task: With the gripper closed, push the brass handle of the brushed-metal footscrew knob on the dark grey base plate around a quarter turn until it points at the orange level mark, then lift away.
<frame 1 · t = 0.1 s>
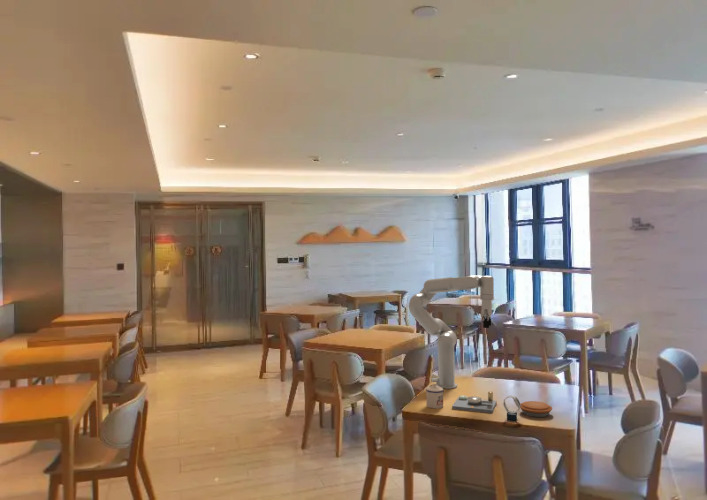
hand: (487, 326, 304), 37 cm above the table, tool pointing down, fingers open, 9 cm apart
base plate: (474, 406, 272), on the table
teacup with lid: (436, 405, 274), on the table
watch: (512, 419, 251), on the table
footscrew knob: (480, 397, 271), point 5 cm above the table, hinge at 0.0°
pie: (535, 414, 259), on the table
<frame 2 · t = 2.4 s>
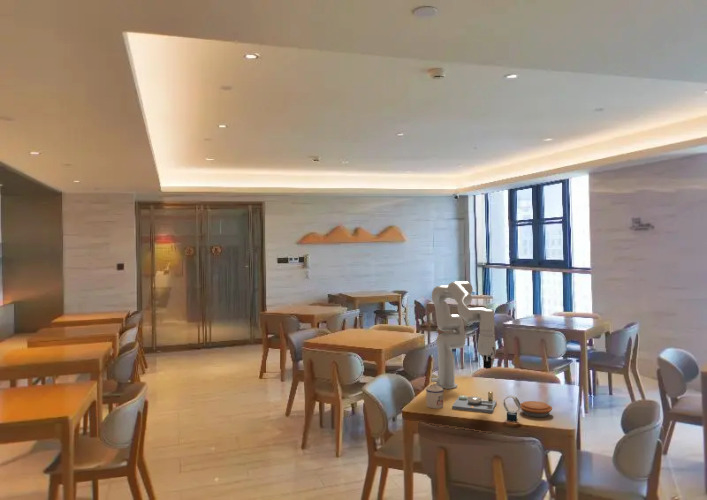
hand: (487, 367, 276), 19 cm above the table, tool pointing down, fingers closed
nothing on the table moved.
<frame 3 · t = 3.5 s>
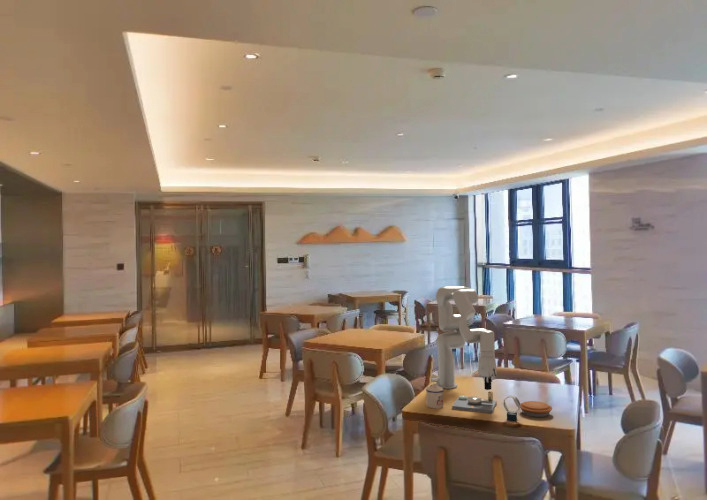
hand: (488, 389, 275), 8 cm above the table, tool pointing down, fingers closed
nothing on the table moved.
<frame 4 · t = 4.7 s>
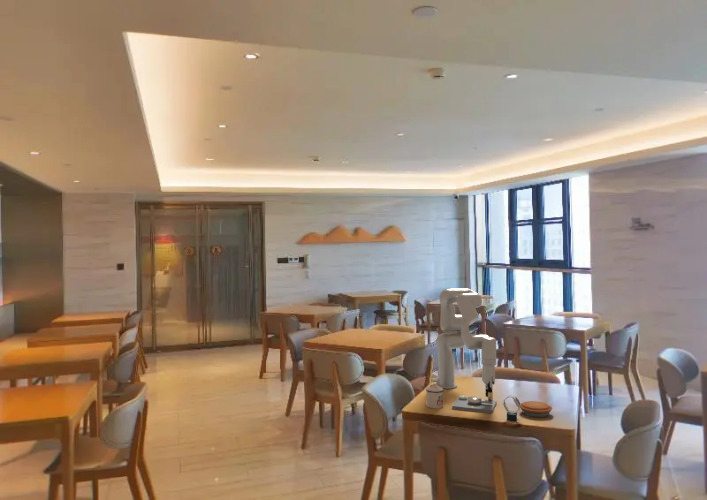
hand: (489, 396, 273), 5 cm above the table, tool pointing down, fingers closed
footscrew knob: (480, 397, 271), point 5 cm above the table, hinge at 2.1°, touching gripper
everything else where it was.
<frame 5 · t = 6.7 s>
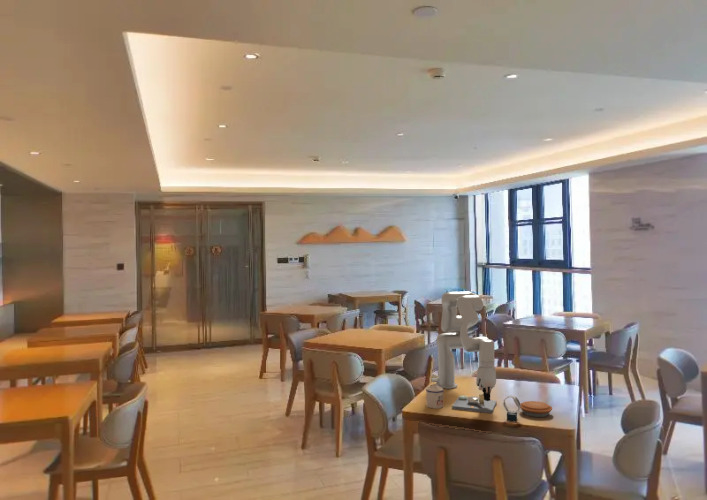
hand: (486, 400, 266), 5 cm above the table, tool pointing down, fingers closed
footscrew knob: (477, 398, 270), point 5 cm above the table, hinge at 55.6°, touching gripper
everything else where it was.
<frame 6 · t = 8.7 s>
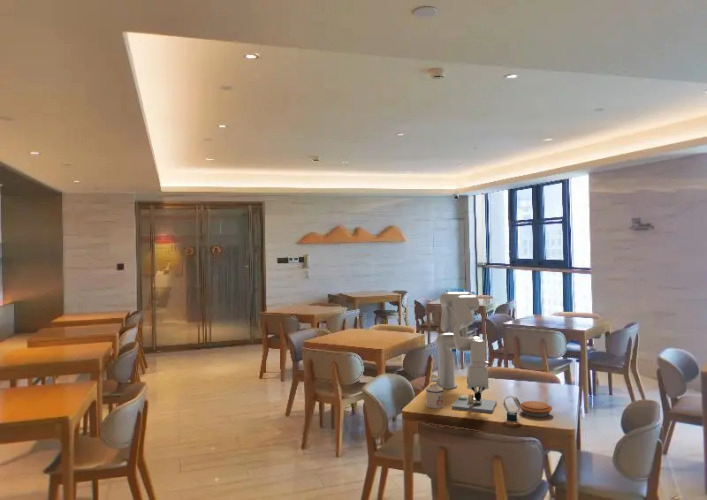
hand: (477, 400, 265), 5 cm above the table, tool pointing down, fingers closed
footscrew knob: (473, 398, 270), point 5 cm above the table, hinge at 94.4°
everything else where it was.
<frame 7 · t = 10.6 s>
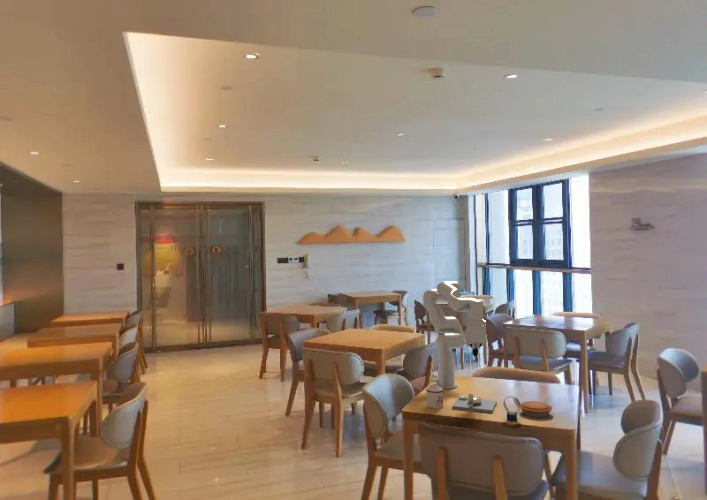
hand: (475, 355, 286), 23 cm above the table, tool pointing down, fingers closed
nothing on the table moved.
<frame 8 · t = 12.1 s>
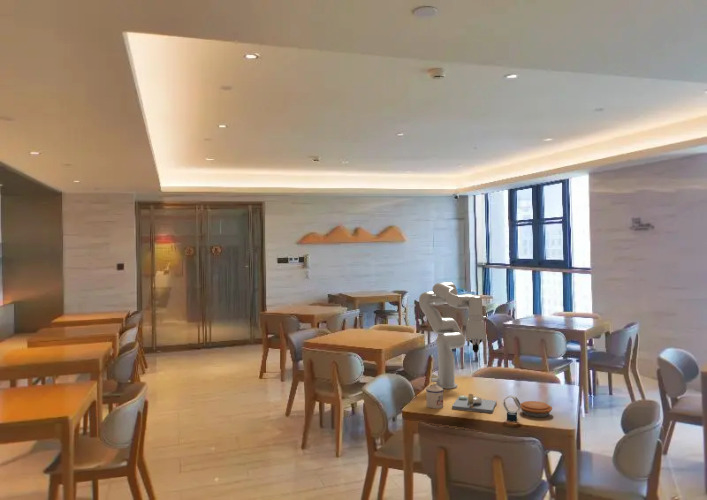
hand: (475, 351, 289), 25 cm above the table, tool pointing down, fingers closed
nothing on the table moved.
at the end: footscrew knob at +95° (first picture: +0°) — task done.
